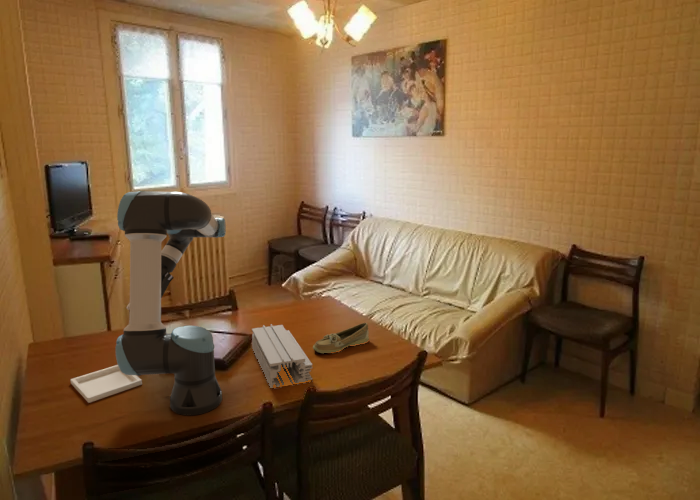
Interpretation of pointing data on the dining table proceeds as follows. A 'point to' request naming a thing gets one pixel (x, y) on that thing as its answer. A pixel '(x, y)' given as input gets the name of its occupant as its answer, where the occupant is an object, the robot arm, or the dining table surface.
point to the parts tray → (104, 383)
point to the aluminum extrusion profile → (280, 354)
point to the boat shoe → (342, 339)
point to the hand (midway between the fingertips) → (135, 311)
